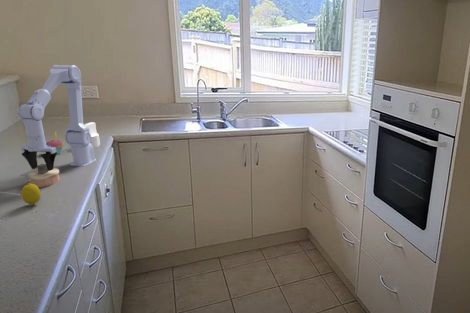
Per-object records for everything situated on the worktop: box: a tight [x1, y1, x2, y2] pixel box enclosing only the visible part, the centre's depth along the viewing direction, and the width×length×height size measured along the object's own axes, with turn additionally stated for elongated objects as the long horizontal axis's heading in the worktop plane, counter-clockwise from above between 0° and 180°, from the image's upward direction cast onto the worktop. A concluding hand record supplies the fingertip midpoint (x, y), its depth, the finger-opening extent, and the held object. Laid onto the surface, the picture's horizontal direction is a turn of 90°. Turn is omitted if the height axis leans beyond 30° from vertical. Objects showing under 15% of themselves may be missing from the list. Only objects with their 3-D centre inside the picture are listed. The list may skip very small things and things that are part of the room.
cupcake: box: [46, 129, 64, 156], centre depth 167 cm, size 9×8×12 cm
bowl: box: [28, 173, 60, 188], centre depth 133 cm, size 10×10×4 cm
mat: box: [20, 166, 64, 177], centre depth 144 cm, size 12×12×1 cm
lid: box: [26, 163, 60, 180], centre depth 132 cm, size 11×11×4 cm
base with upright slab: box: [84, 121, 101, 149], centre depth 180 cm, size 9×9×12 cm
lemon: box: [21, 182, 42, 206], centre depth 114 cm, size 6×6×8 cm
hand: (42, 169), depth 132 cm, fingers open, 7 cm apart
